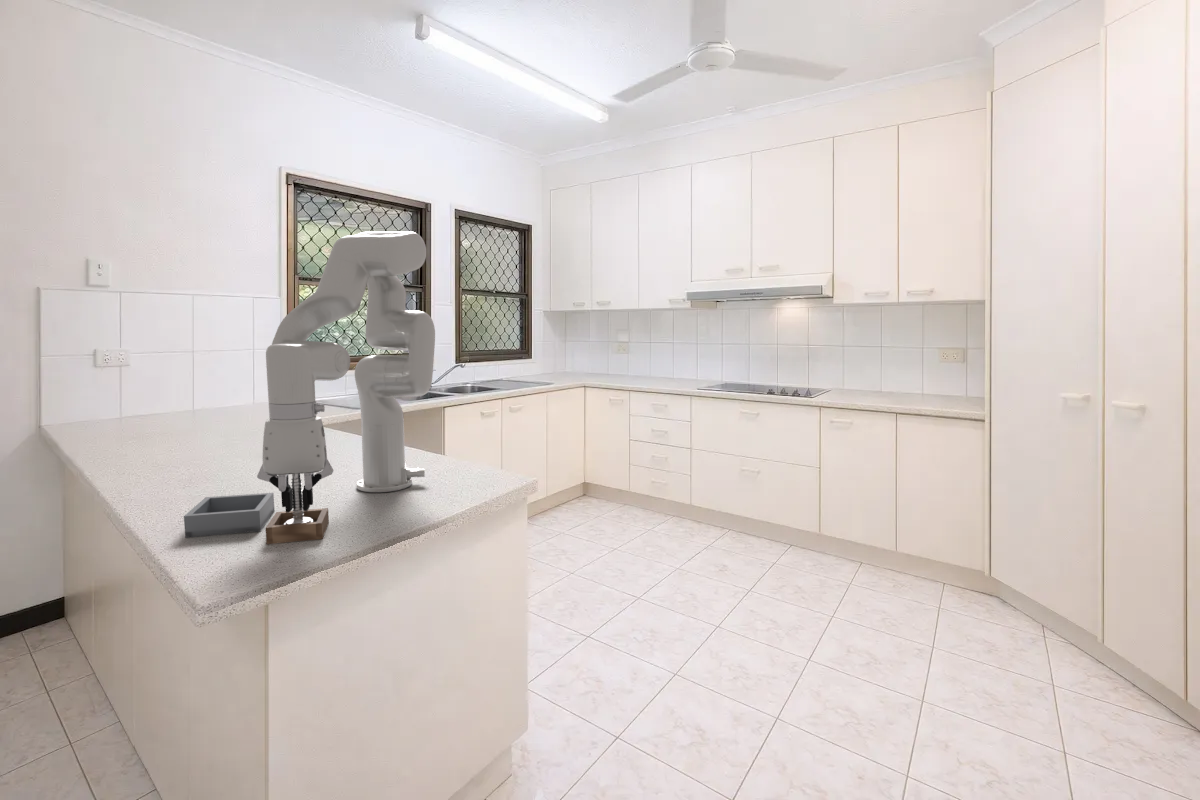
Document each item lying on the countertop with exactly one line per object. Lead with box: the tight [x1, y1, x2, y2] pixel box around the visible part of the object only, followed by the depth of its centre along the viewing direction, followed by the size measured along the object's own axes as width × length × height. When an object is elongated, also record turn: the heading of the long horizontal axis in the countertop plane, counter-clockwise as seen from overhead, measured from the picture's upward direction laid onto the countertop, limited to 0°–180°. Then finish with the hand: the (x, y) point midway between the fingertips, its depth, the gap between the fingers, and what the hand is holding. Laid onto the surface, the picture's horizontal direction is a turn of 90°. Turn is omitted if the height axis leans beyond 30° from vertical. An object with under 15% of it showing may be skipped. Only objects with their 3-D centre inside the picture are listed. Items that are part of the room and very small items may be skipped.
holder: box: [265, 507, 330, 545], centre depth 106 cm, size 9×9×3 cm
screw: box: [284, 474, 313, 525], centre depth 106 cm, size 13×5×5 cm
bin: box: [183, 492, 275, 539], centre depth 111 cm, size 12×12×4 cm
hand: (298, 508), depth 106 cm, fingers closed
